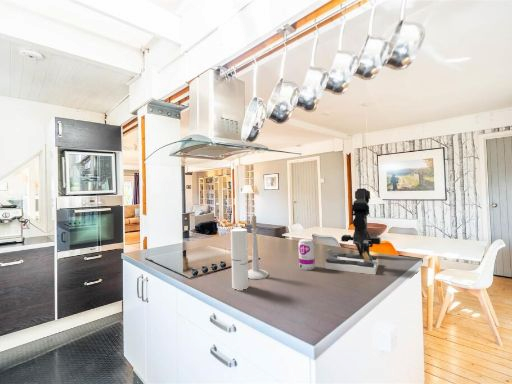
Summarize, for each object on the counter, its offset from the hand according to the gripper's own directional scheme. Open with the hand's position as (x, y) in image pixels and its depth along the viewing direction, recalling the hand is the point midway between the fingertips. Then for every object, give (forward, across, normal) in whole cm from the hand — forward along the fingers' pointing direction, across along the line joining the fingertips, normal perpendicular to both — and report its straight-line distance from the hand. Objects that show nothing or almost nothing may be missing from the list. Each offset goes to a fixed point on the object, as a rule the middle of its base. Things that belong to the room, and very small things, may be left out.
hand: (360, 255), depth 136 cm
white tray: (+6, -4, 0) cm, 8 cm away
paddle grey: (+2, -14, 0) cm, 15 cm away
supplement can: (+7, -25, -12) cm, 29 cm away
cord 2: (+3, -4, +7) cm, 9 cm away
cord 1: (+4, -4, -7) cm, 9 cm away
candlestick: (+7, -44, -34) cm, 56 cm away
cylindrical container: (+7, -42, -52) cm, 67 cm away
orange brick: (+2, +4, 0) cm, 4 cm away
